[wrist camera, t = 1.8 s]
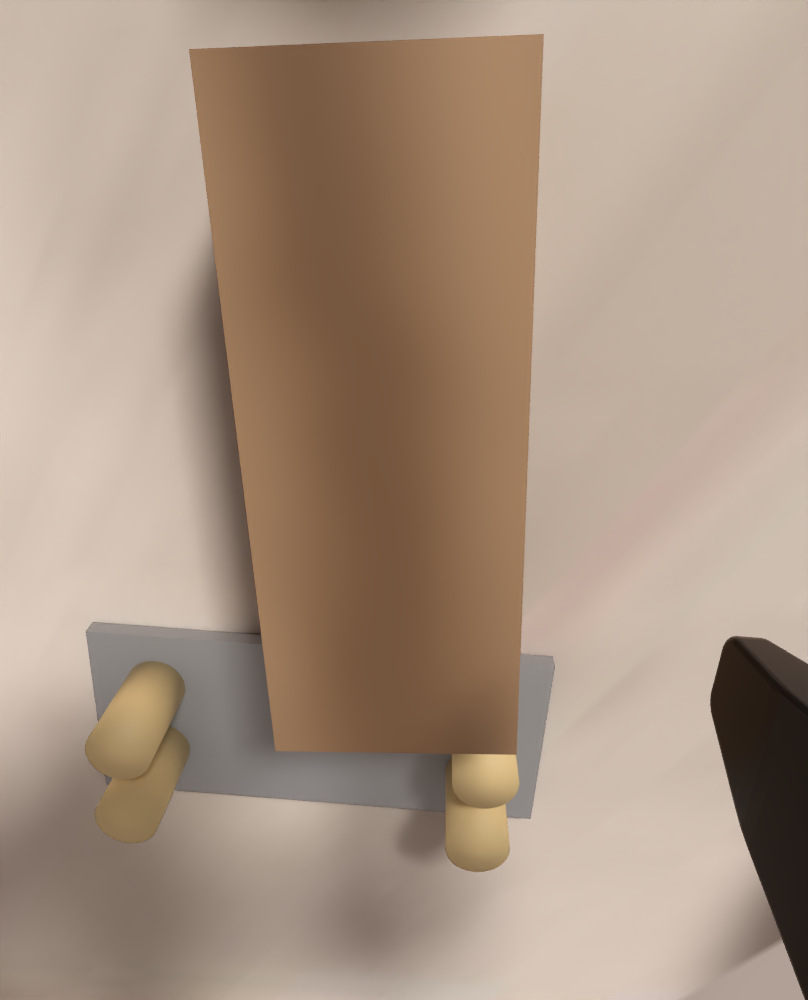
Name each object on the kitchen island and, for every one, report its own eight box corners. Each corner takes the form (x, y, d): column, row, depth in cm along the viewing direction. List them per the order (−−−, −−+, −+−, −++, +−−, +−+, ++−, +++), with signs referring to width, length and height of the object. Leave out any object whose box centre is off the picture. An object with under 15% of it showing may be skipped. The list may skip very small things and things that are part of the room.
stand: (552, 656, 23) (569, 736, 20) (529, 807, 25) (540, 900, 22) (93, 622, 23) (36, 694, 20) (112, 773, 26) (64, 859, 23)
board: (513, 76, 17) (543, 34, 12) (500, 612, 23) (516, 754, 17) (270, 86, 17) (189, 49, 12) (316, 611, 23) (275, 751, 18)
